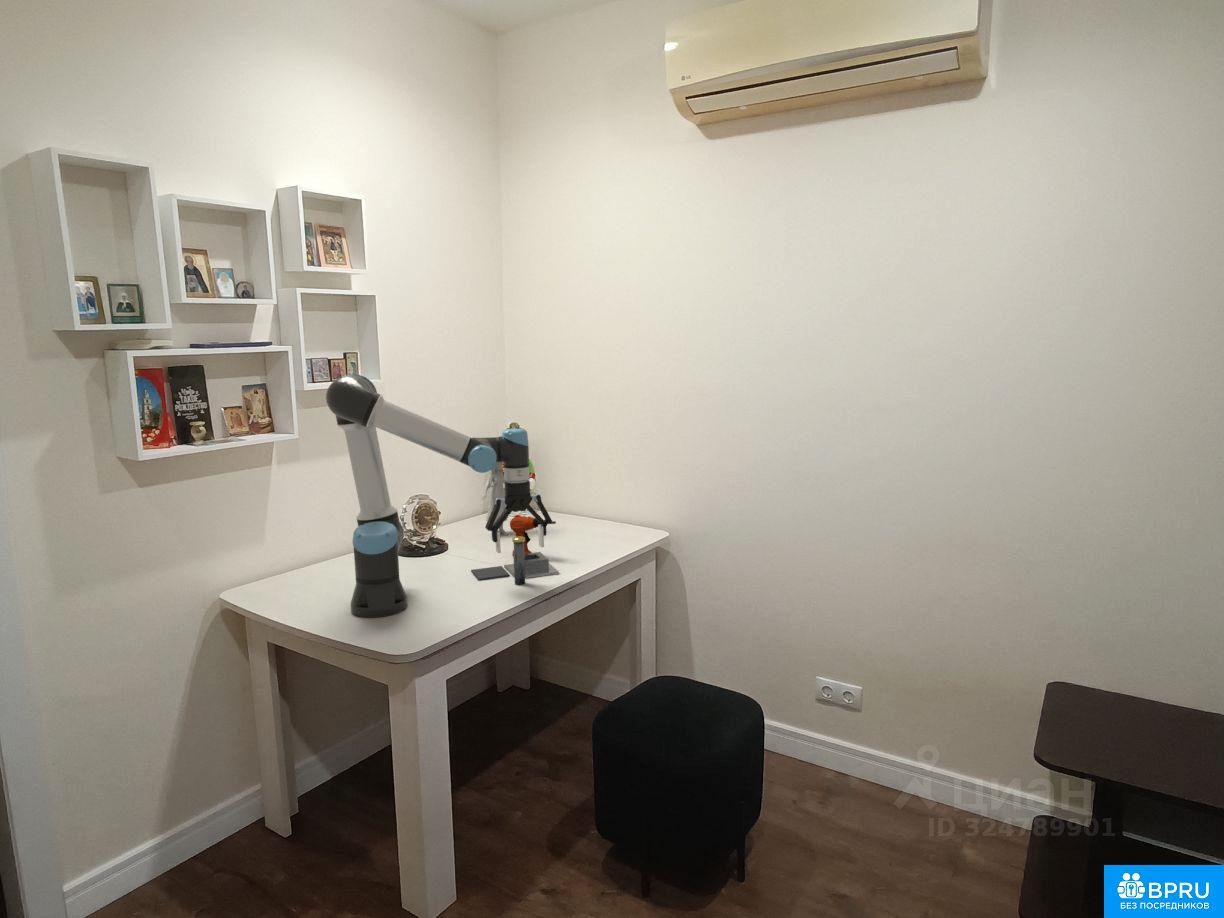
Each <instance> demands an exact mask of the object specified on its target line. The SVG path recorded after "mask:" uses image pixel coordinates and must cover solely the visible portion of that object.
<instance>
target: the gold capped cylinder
mask: <svg viewBox="0 0 1224 918" xmlns="http://www.w3.org/2000/svg"><path fill="white" fill-rule="evenodd" d="M524 542H525V537H522V536H518V537H516V536H513V537H512V543H513V550H514V557H513V564H514V574H515V578H514V585H515V586H524V585H525V584H526V578H525V554H524Z"/></svg>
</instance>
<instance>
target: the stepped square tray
mask: <svg viewBox="0 0 1224 918" xmlns="http://www.w3.org/2000/svg"><path fill="white" fill-rule="evenodd" d="M512 557H513V558H514V555H513V556H512ZM549 561H550V559H549V558H548V557H546V555H544V553H542V552H541V551H535V552H532V553H527V554H525V579H534V578H537V577H538V578H539V577H546V576H553V575H559V574H560V572H559V570H558V569H557V568H555V567H554V566H553V565H552V564H550V562H549ZM503 568H504V569H505V570H506V571H507V572H508V573H509V574H510V575H511V577H513V578H514V579H515V574H514V563H510V564H504V567H503Z"/></svg>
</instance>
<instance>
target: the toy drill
mask: <svg viewBox="0 0 1224 918" xmlns="http://www.w3.org/2000/svg"><path fill="white" fill-rule="evenodd" d="M556 523H557V522H556V521H555V520H552V522H551V523H549V524H548V525H556ZM538 525H541V523H540V522H539V521H538V520H537V519H536V518H535V517H534V516H525V515H520V514H516V515H514V517H512V519H510V521H509V527H510V529H511V530H512V531H513V532H514V533H515V534H514V535H515V537H518V536H522V537H525V542H524V554H527V553H533V552H532V551H531V550H529V549H528V548H529V546H528V543H529V542H530V541H531V540H532V539H531V538H530V536H529V535H528V534H529V533H528V532H527V531H530V530H534V529H537V528H538ZM511 554H512V557H513V555H514V549H513V550H512V553H511Z"/></svg>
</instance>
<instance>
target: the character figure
mask: <svg viewBox="0 0 1224 918" xmlns="http://www.w3.org/2000/svg"><path fill="white" fill-rule="evenodd" d="M503 464H504V462H496V463H495V465H494V467H493V468H492V469H491V470H490V473H489V476H488V478H487V481H486V482H485V484H484V491H483V495H482V497H481V500H482V501H484V500H485V498H488V494H487V492H488V490H489V489H490V488H491V492H490V497H489V503H488V507H487V514H486V522H488V519H489V517H490V514H491V512H492V510H493V507H494V505H495V498H499V499H504V498H505V486H504V485H505V482H506V480H505V479H504V473H503V471H504V468H503V469H502V466H503ZM492 484H493V485H492ZM506 506H507V505H506V504H505V503H503V505H502V506H500V510H499V512H498V514H497V517H496V519H495V521H494V523H495V522H496V521H497V519H498V518H499V516H500V515H501V514H502V512H503V511H504V509H505V507H506ZM508 518H509V516H508V517H507V518H506V519H505V521H504V522H506V521H507V520H508ZM504 522H503V523H502V525H501V526H500V528H499V529H498V531H499V532H500V535H503V536H508V535H509V533H508V532H506V530H505V529H504ZM493 525H494V524H493Z"/></svg>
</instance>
